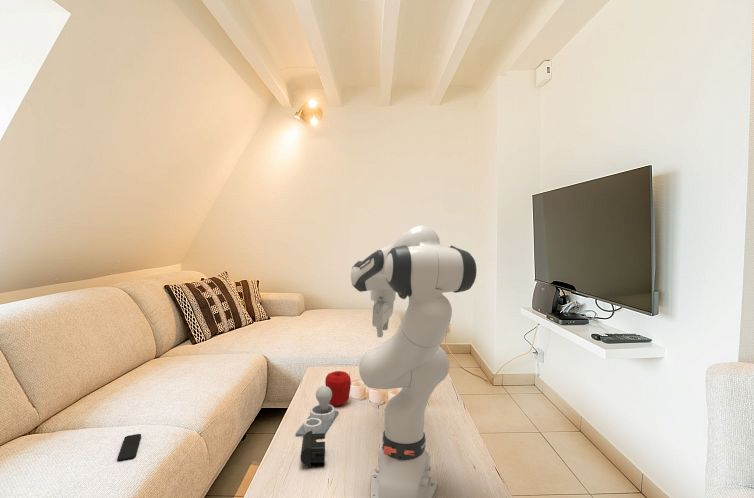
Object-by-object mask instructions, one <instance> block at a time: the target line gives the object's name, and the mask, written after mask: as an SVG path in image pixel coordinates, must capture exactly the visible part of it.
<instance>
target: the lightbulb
mask: <svg viewBox="0 0 754 498" xmlns="http://www.w3.org/2000/svg"><path fill="white" fill-rule="evenodd" d="M315 398H316V400H317V402H318V405H320V411H321V414H327V409H328V404H329V405H330V402H329V401H330V400H331V398H332V391H331V389H330V388H329V387H327V386H326V385H322V386H320V387H318V388H317V390H316V392H315Z"/></svg>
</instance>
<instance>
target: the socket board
mask: <svg viewBox="0 0 754 498" xmlns="http://www.w3.org/2000/svg"><path fill="white" fill-rule="evenodd" d="M338 415H339V410H336V409H335V406H333V405H332V404H330V403H329V404H328V409H327V414H321V411H320V405H319V404H316V405H313V406H311V408H310V409H309V416H308V417H307V418H306V419H305V420H304V421H303V423H302V425H301V426H300V427H299V429H297V431H296V433H295V437H298V436H303V437H304V435H305V434H306V433H307V432H309V431H312V434H318V433H325V435H326V434H327V433H328V431H329V429H330V428H331V426H332V424H333V423H334V421H335V420H336V418H337V417H338ZM329 427H330V428H329ZM303 437H302V438H303Z"/></svg>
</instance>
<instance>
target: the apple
mask: <svg viewBox="0 0 754 498" xmlns="http://www.w3.org/2000/svg"><path fill="white" fill-rule="evenodd" d="M351 380H352V379H351V376H350V375H349V374H348V372H346V371H342V370H338V371H337V370H336V371H332V372H329V373H328V374H327V375H326V377H325V382H324V383H325V386H327V387H329V388H330V389H331V391H332V398H331V400H330V401H329V404H330V405H332V406H333V407H339V406H342V405H344V404H345V403H346V402H348V401H349V399H350V394H351V387H352V382H351Z"/></svg>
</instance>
